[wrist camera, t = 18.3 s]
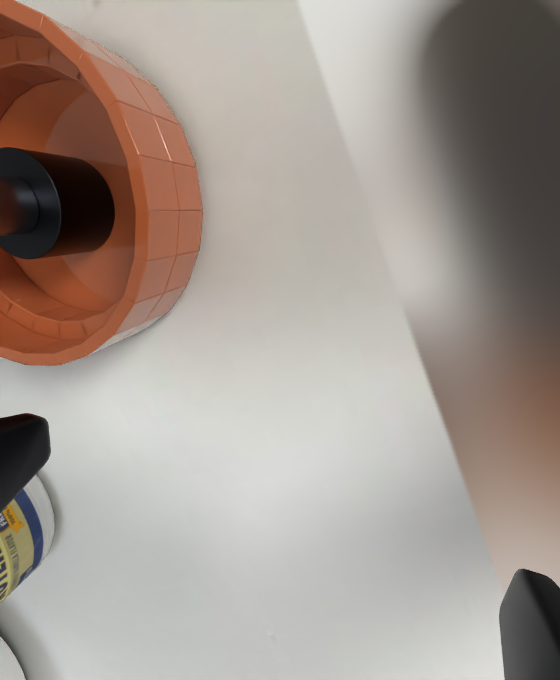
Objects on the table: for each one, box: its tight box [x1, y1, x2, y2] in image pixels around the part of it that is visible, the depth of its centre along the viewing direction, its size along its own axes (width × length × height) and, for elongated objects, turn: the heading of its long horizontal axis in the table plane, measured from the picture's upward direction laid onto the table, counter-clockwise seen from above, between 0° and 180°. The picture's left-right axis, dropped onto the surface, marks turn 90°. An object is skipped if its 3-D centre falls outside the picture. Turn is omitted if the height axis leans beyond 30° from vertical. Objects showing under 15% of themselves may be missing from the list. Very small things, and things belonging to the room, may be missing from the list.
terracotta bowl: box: [0, 0, 203, 366], centre depth 19 cm, size 14×14×5 cm
